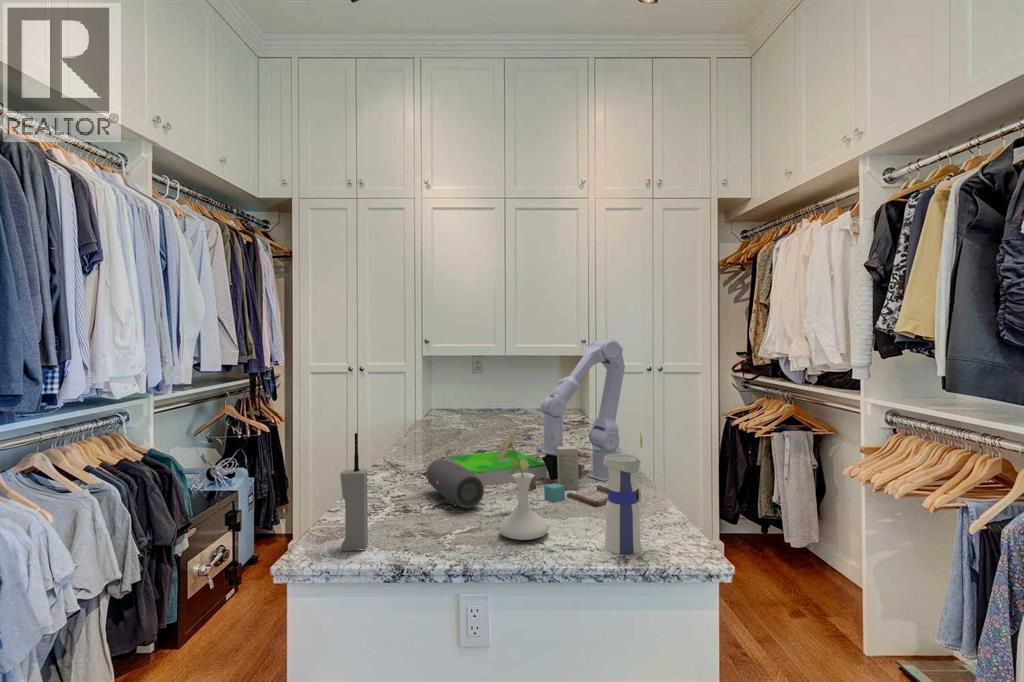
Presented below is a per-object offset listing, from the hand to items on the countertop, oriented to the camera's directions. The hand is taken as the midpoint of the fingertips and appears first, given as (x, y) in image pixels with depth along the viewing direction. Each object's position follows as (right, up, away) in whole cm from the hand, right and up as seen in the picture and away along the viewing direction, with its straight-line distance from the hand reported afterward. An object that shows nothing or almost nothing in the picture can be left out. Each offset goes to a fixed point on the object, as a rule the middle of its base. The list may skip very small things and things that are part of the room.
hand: (553, 479), depth 171 cm
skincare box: (+4, -1, -5) cm, 7 cm away
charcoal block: (+7, -1, +8) cm, 10 cm away
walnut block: (-9, -1, -7) cm, 11 cm away
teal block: (-1, -1, -18) cm, 18 cm away
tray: (-18, -2, +12) cm, 22 cm away
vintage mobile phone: (-47, -2, -51) cm, 70 cm away
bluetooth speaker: (-29, -2, -18) cm, 34 cm away
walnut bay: (+11, -1, -15) cm, 19 cm away
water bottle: (+11, -2, -52) cm, 53 cm away
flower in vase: (-11, -2, -45) cm, 47 cm away
